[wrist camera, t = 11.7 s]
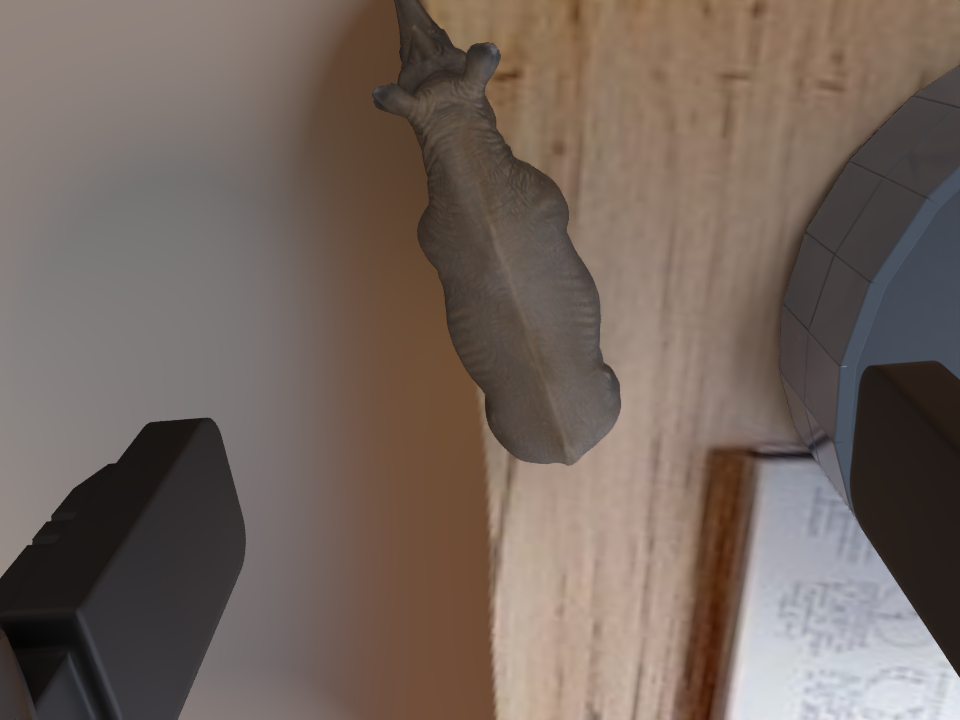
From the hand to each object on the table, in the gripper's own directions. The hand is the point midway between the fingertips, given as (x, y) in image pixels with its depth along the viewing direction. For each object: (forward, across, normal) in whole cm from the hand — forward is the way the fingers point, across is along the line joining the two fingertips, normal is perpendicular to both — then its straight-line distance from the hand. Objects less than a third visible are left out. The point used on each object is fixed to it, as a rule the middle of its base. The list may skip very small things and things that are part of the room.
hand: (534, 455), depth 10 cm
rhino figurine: (+15, 0, +1) cm, 16 cm away
